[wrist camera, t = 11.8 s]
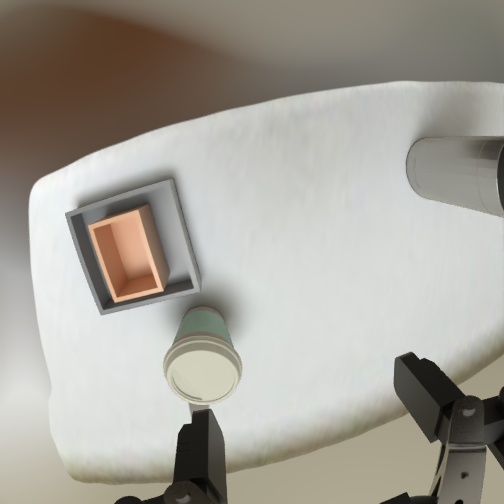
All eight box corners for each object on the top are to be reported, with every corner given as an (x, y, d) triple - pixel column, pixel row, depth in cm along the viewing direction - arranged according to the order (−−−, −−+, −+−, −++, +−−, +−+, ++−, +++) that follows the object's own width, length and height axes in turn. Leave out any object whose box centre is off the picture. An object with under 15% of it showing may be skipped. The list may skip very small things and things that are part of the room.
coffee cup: (170, 296, 40) (157, 344, 28) (235, 296, 41) (245, 345, 29) (174, 350, 42) (165, 407, 30) (234, 351, 43) (242, 407, 32)
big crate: (173, 178, 36) (168, 179, 32) (201, 279, 40) (200, 291, 36) (77, 208, 35) (64, 213, 31) (109, 302, 39) (101, 315, 35)
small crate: (149, 202, 36) (138, 209, 30) (170, 272, 38) (163, 290, 33) (105, 216, 35) (87, 225, 30) (127, 283, 38) (114, 302, 32)
